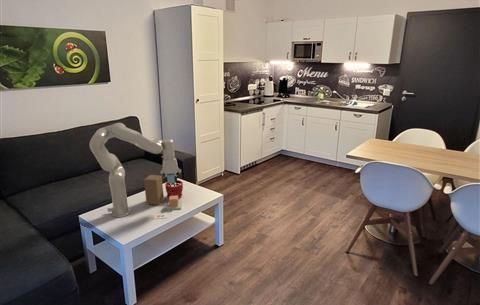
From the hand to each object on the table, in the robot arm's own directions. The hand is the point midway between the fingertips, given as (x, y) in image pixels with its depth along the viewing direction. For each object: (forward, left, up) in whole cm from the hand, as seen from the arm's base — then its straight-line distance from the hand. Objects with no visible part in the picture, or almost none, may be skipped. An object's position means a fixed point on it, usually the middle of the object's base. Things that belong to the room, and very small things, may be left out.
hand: (171, 181), depth 223 cm
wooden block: (-14, +9, -20) cm, 26 cm away
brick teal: (0, 0, -1) cm, 1 cm away
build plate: (+1, 0, -20) cm, 20 cm away
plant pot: (0, +16, -20) cm, 26 cm away
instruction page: (-7, -14, -20) cm, 25 cm away
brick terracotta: (0, 0, -19) cm, 19 cm away
